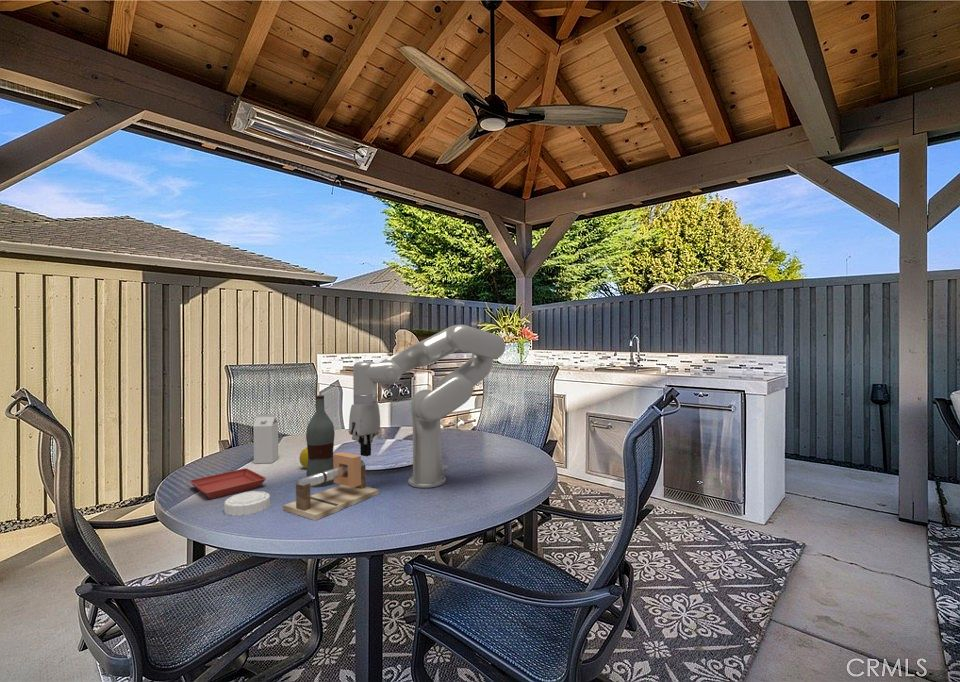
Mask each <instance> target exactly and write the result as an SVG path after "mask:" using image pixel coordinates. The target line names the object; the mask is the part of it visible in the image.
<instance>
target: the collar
mask: <svg viewBox="0 0 960 682" xmlns="http://www.w3.org/2000/svg"><path fill="white" fill-rule="evenodd" d="M361 460H362V456H361V455H358V454H354V453H347V452H342V451H340V452H336V453H333V468H337V467H340V466H343V465H348V474H347V475H344V476H341V477H338V478H335V479H334V481H333V484H338V485H345V486H349V487H356V486H359V485H361Z"/></svg>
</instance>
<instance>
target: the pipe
mask: <svg viewBox="0 0 960 682" xmlns="http://www.w3.org/2000/svg"><path fill="white" fill-rule="evenodd" d="M365 464H366V463H365V461H364V460H363V459H361V466H364V465H365ZM365 466H366V465H365ZM347 474H348V465H343V466H340V467H337V468H334V469H330V470H327V471H324V472H320V473H318V474H315V475H311V476H308V477H307V476H305V477H302V478H299V479H297V481H296V483H297V484H299V485H303V486H304V485H307V484H310V488H312V486H315V485H318V484H321V483H325V482H326V481H329V480H332V479H335V478H338V477H341V476H344V475H347ZM303 486H302V489H303ZM299 488H301V487H299ZM299 488H298V489H299ZM302 489H301V490H302Z"/></svg>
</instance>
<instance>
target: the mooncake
mask: <svg viewBox="0 0 960 682" xmlns="http://www.w3.org/2000/svg"><path fill="white" fill-rule="evenodd" d="M223 503H224V505H223V507H224V508H223V509H224V510H223V511H224V514H226V515H227V516H233V517H236V516H238V517H241V516H249V515H254V514H257V513H261V512H263V511H264V510H267V509H268V508H270V506H271V495H270V493H268V492H266V491H257V490H256V491H255V490H252V491H243V492H240V493H236V494H234V495H233V494H232V496H230V497H228V498H226V499H225V500H224V502H223Z"/></svg>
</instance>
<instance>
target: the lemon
mask: <svg viewBox="0 0 960 682" xmlns="http://www.w3.org/2000/svg"><path fill="white" fill-rule="evenodd" d="M299 463H300V465H301V466H302V467H304V468H306V469H307V464H308V450H307V447H305V448H303V449H302V450H301V452H300V455H299Z"/></svg>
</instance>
